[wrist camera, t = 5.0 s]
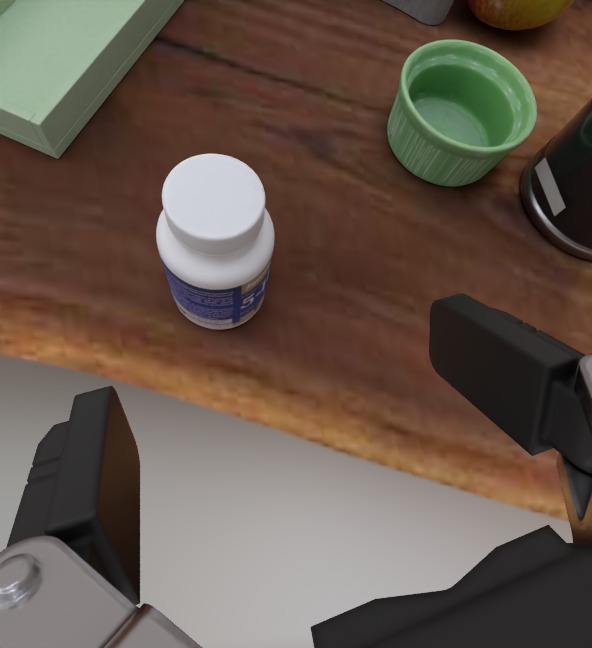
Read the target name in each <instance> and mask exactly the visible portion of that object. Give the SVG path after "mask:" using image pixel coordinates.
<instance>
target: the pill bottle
mask: <svg viewBox="0 0 592 648" xmlns="http://www.w3.org/2000/svg"><path fill="white" fill-rule="evenodd" d="M162 202H163V208H164V209H163V211H162V213H161V215H160V217H159V220H158V224H157V230H156V240H157V246H158V250H159V254H160V257H161V260H162V263H163V267H164V270H165V273H166V276H167V279H168V282H169V285H170V288H171V292H172V295H173V298H174V300H175V302H176V304H177V306H178V308H179V309H180V311H181V312H182V313H183V314H184V315H185V316H186V317H187V318H188V319H189V320H191V321H192V322H194V323H196V324H198V325H200V326H202V327H205V328H210V329H229V328H233V327H236V326H239V325H241V324H243V323H245V322H246V321H248V320H249V319H250V318H251V317H252V316H253V315H254V314H255V313H256V312H257V311H258V309H259V308H260V306H261V304H262V302H263V299H264V295H265V291H266V285H267V279H268V274H269V269H270V264H271V259H272V254H273V248H274V227H273V223H272V220H271V218H270V215H269V213H268V212H267V210H266V208H265V192H264V188H263V185H262V183H261V181H260V179H259V177H258V176H257V175H256V174H255V172H254V171H253V170H252V169H251V168H250V167H249V166H247V165H246V164H245V163H243V162H241V161H239V160H237V159H235V158H232V157H230V156H226V155H220V154H202V155H197V156H193V157H191V158H188V159H186V160H185V161H182V162H181V163H180V164H178V165H177V166H176V167H175V168H174V169H173V170H172V171H171V172H170V173H169V175H168V177H167V178H166V180H165V182H164V186H163V190H162Z"/></svg>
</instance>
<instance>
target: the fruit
mask: <svg viewBox="0 0 592 648" xmlns="http://www.w3.org/2000/svg"><path fill="white" fill-rule="evenodd" d="M466 1H467V4H468V6H469V7H470V9H471V11H472V12H473V14H474V15H475V16H476V17H477V18H478V19H479V20H480V21H482V22H483V23H485V24H488V25H490V26H492V27H497V28H501V29H505V30H524V29H532V28H535V27H539V26H542V25H544V24H546V23H548V22H550V21H552V20H554V19H555V18H557V17H559V16H560V15H561V14H562V13H563V12H564V11H566V10H567V9H568V7H569V6H570V5H571V4H572V3H573V2H574V1H575V0H466Z"/></svg>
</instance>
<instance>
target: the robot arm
mask: <svg viewBox="0 0 592 648" xmlns="http://www.w3.org/2000/svg"><path fill="white" fill-rule="evenodd" d="M521 195H522V200H523V203H524V206H525V209H526V211H527V213H528V215H529V217H530V218H531V220H532V221H533V223H534V224H535V226H536V227H537V228H538V229H539V231H540V232H541V233H542V234H543V235H544V236H545V237H546V238H547V239H549V240H550V241H551V242H552V243H553V244H555V245H556V246H558V247H559V248H561V249H562V250H564V251H566V252H568V253H570V254H572V255H574V256H577V257H580V258H583V259H587V260H592V98H591V99H590V100H589V101H588V102H587V104H586V105H585V106H584V107H583V108H582V109H581V110H580V111H579V112H578V113H577V114H576V115H575V116H574V117H573V118H572V119H571V120H570V121H569V122H568V123H567V124H566V125H565V126H564V128H563V129H562V130H561V131H560V132H559V133H558V134H557V135H556V136H554V137H553V138H552V139H551V140H550V141H549V142H548V143H547V144H546V145H545V146H544V147H543V148H542V149H541V150H540V151H539V152H538V153H537V154H536V155H535V156H534V157H533V158H532V159H531V160H530V161H529V162H528V164H527V165H526V167H525V169H524V171H523V174H522V178H521ZM429 356H430V360H431V363H432V366H433V367H434V369H435V371H436V372H437V373H438V374H439V375H440V376H441V377H442V378H443V379H444V380H446V381H447V382H448V383H449V384H450V385H451V386H452V387H454V388H455V389H456V390H457V391H458V392H459V393H460V394H462V395H463V396H464V397H465V398H466V399H467V400H468V401H470V402H471V403H472V404H473V405H474V406H475V407H477V408H478V409H479V410H480V411H481V412H482V413H483V414H485V415H486V416H487V417H488V418H489V419H490V420H491V421H493V422H494V423H495V424H496V425H497V426H498V427H499V428H501V429H502V430H503V431H504V432H505V433H506V434H508V435H509V436H510V437H511V438H512V439H513V440H514V441H516V442H517V443H518V444H519V445H520V446H521V447H522V448H524V449H525V450H526V451H527V452H528V453H529V454H530V455H532V456H533V455H536V454H539V453H541V452H544V451H547V450H549V449H552V448H555V449H556V450H557V451H558V452H559V454H558V458H557V469H558V473H559V478H560V482H561V486H562V491H563V495H564V500H565V504H566V508H567V513H568V517H569V521H570V526H571V530H572V536H573V543H566V542H565V541H564V540H563V539H562V538H561V537H560V536H559V535H558V534H557V533H556V532H555V531H554V530H553V529H552V528H551V527H550V526H549V525H547V526H545V527H542V528H540V529H538V530H535V531H533V532H531V533H528V534H526V535H524V536H521V537H519V538H517V539H514V540H512V541H510V542H507V543H505V544H503V545H500V546H498V547H496V548H495V549H494V550H493V551H491V553H489V554H488V555H487V556H486V557H485V558H484V559H483V560H482V561H480V562H479V563H478V564H477V565H476V566H475V567H474V568H473V569H472V570H471V571H470V572H469V573H467V574H466V575H465V576H464V577H463V578H462V579H461V580H460V581H458V582H457V583H456V584H455V585H454V586H453V587H451V588H449V589H447V590H443V591H436V592H428V593H420V594H412V595H404V596H396V597H388V598H380V599H375V600H372V601H370V602H367V603H366V604H363V605H361V606H358V607H356V608H354V609H351V610H349V611H347V612H344V613H342V614H340V615H337V616H335V617H333V618H330V619H328V620H326V621H323V622H321V623H319V624H316V625H314V626H312V627H311V632H312V637H313V642H314V648H592V353H591V354H588V355H584V354H583V353H581V352H579V351H577V350H575V349H573V348H572V347H570V346H568V345H566V344H564V343H562V342H560V341H559V340H557V339H555V338H553V337H551V336H549V335H547V334H546V333H544V332H542V331H540V330H539V331H537V330H536V328H535V327H533V326H531V325H529V324H527V323H523V321H522V320H520V319H518V318H516V317H514V316H512V315H510V314H509V313H507V312H504V311H500V310H497V309H493V308H490V307H488V306H486V305H484V304H482V303H480V302H478V301H477V300H475V299H473V298H471V297H469V296H468V295H466V294H458V295H454V296H450V297H446V298H443V299H439V300H436V301H434V302H433V304H432V306H431V312H430V340H429ZM32 464H33V467H32V468H31V470H30V473H29V476H28V479H27V481H28V484H27V485H26V486H25V489H24V492H23V496H22V499H21V502H20V505H19V509H18V512H17V515H16V518H15V522H14V525H13V528H12V531H11V534H10V538H9V541H8V544H7V547H6V549H4V550H3V551H1V552H0V648H202V647H201V646H200V645H199V644H197V643H196V642H195V641H194V640H193V639H192V638H190V637H189V636H188V635H187V634H185V633H184V632H183V631H182V630H181V629H180V628H179V627H177V626H176V625H175V624H174V623H173V622H171V621H170V620H169V619H168V618H167V617H165V616H164V615H163V614H162V613H161V612H160V611H158V610H157V609H155V608H154V607H153V606H151V605H149V604H143V605H142V606H141V607H140V608H138V607H137V606H135V605H137V604H139V603H140V461H139V454H138V449H137V445H136V442H135V439H134V436H133V433H132V431H131V428H130V426H129V423H128V421H127V418H126V415H125V413H124V410H123V408H122V405H121V403H120V400H119V397H118V395H117V393H116V390H115V389H114V388H113V386H109V387H105V388H101V389H97V390H94V391H90V392H86V393H82V394H79V395H76V396H75V398H74V402H73V406H72V410H71V414H70V419H69V421H67V422H63V423H60V424H56V425H54V426H53V427H52V428H51V430H50V431H49V432H48V433H47V434H46V435H45V437H44V438H43V439H42V441H41V442H40V443H39V444H38V447H37V450H36V453H35V457H34V460H33V463H32Z"/></svg>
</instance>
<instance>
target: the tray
mask: <svg viewBox="0 0 592 648" xmlns="http://www.w3.org/2000/svg"><path fill="white" fill-rule="evenodd" d="M183 2H184V0H0V134H2V135H4V136H6V137H9V138H11V139H13V140H15V141H18V142H20V143H22V144H25V145H27V146H29V147H31V148H34V149H36V150H38V151H41V152H43V153H45V154H47V155H50V156H52V157H54V158H56V159H59V158H60V156H61V155H62V154H63V153H64V151H65V150H66V149H67V148H68V146H69V145H70V144H71V143H72V141H73V140H74V139H75V138H76V136H77V135H78V134H79V133H80V131H81V130H82V129H83V127H84V126H85V125H86V124H87V122H88V121H89V120H90V119H91V117H92V116H93V115H94V114H95V112H96V111H97V110H98V109H99V107H100V106H101V105H102V104H103V102H104V101H105V100H106V99H107V97H108V96H109V95H110V94H111V92H112V91H113V90H114V88H115V87H116V86H117V85H118V83H119V82H120V81H121V80H122V78H123V77H124V76H125V75H126V73H127V72H128V71H129V70H130V68H131V67H132V66H133V65H134V63H135V62H136V61H137V60H138V58H139V57H140V56H141V55H142V53H143V52H144V51H145V49H146V48H147V47H148V46H149V44H150V43H151V42H152V41H153V39H154V38H155V37H156V36H157V34H158V33H159V32H160V31H161V29H162V28H163V27H164V26H165V24H166V23H167V22H168V21H169V19H170V18H171V17H172V15H173V14H174V13H175V12H176V10H177V9H178V8H179V7H180V5H181V4H182V3H183Z"/></svg>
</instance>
